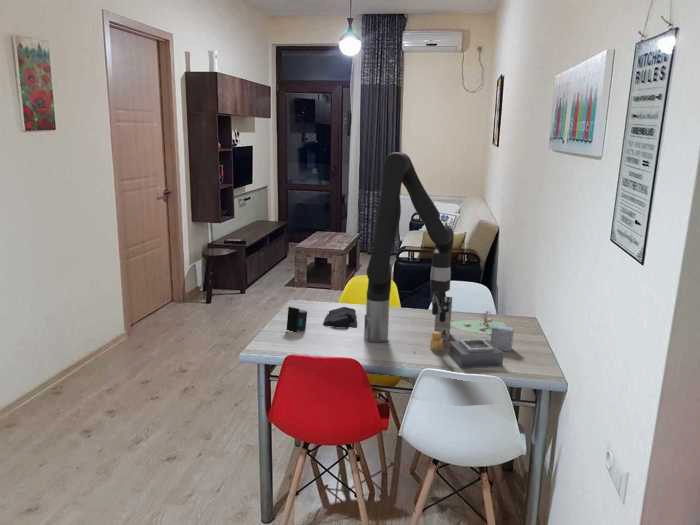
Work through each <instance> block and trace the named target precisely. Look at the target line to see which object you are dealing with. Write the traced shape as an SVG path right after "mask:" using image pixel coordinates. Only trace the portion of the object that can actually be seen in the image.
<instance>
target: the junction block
mask: <svg viewBox="0 0 700 525" xmlns="http://www.w3.org/2000/svg"><path fill="white" fill-rule="evenodd" d="M448 342H449V344H448V355H449V356H450V357H451V358H452V360H453V361H454V362H455V363H456V364H457V365H458V366H459V367H460V368H462V369H463V368H464V369H466V368H481V367H482V368H483V367H499V366H500V365H502V366H503V363H504V354H505V353H504V351H503V350H500V349H499V348H498V347H496V346H495V345H494V344H493V343H492V342H491V340H489V339H484V338H475V339H472V338H471V339H459V340H457V341H456V340H455V341H448Z"/></svg>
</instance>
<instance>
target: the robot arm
mask: <svg viewBox="0 0 700 525" xmlns="http://www.w3.org/2000/svg"><path fill="white" fill-rule="evenodd" d="M413 164H414V163H413V162H412V159H411V157H409V156H408V154H406V153H405V152H391V153H389V154H388V155H387V156H386V157H385V159H384V161H383V166H382V181H381V190H380V195H379V200H378V206H377V210H376V216H375V221H374V229H373V230H374V232H373V242H372V250H371V253H370V254H371V255H370V257H369V261H368V266H367V268H366V276H367V279H368V282H367V290H366V304H365V305H366V308H365V309H366V310H365V315H364V332H363V337H364V339H365V340H366V342H367V343H369V342H371V343H384V342H386V341H388V338H389V323H390V322H389V319H390V297H391V289H392V269H393V268H392V265H391V263H390V262H391V254H392V250H393V246H394V243H395V240H396V237H397V233H398V231H399V226H400V221H401V215H402V214H401V212H402V205H401V187H402V185H403V186H404V188H405V189H406V191H407V193H408V195H409V199H410V201H411V204H412V206H413V208H414V210H415V212H416V213H417V215H418V216H419V218H420V220H421V222H423V225H424V226H425V227H424V228H425V230H426V232H427V235H428V236H429V238H430V240H431V241H432V242H433V244H434V250H433V252H432V255H431V269H430V283H429V284H430V285H429V288H430V300H429V302H430V303H431V305H432V308H431V314H432V315H433V316H435V315H437V314H438V307H439V310H440V318H439V321H440V322H445V320H446V312H449V297H450V296H447V294H446V292H448V291H450V289H451V275H452V271H451V265H452V264H451V262H452V260H451V258H452V250H453V246H454V240H455V237H454V234H455V233H454V230H453V229H452V227H451V226H450V225H448V224H444V223H443V222H442V220H441V214H440V211H439V209H438V208H437V206H436V204H435V203H434V202H433V200H432V198H431V197H430V195H429V194H428V193H427V191H426V189H425V187H424V185H423V184H422V182H421V180H420V178H419V176H418V173H417V171H416V168H415V167H414V165H413ZM446 306H447V307H446ZM441 307H442V308H441Z"/></svg>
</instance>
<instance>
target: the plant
mask: <svg viewBox="0 0 700 525" xmlns="http://www.w3.org/2000/svg"><path fill="white" fill-rule="evenodd" d="M491 312H493V311H492V310H491V311H486V312H484V313H483V314H482V315H481V316H480V317H481V318H482V320H484V321H480V320H481V319H468V320H467V319H465V320H453V321H454V322H452V320H451V323H450V324H452V325H451V326H452V327H453V328H455V329H459V330H463V331H467V332H471V331H472V332H471V333H475V332H477V333H476V334H479V333H488V334H491V333H492V327H493V326H494V325H498V326H504V327H508V326H507V324H505V322H500V321H497V320H495V321H494V320H492V319H491V318H490V316H491ZM488 315H489V316H488Z"/></svg>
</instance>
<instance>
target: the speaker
mask: <svg viewBox="0 0 700 525" xmlns="http://www.w3.org/2000/svg"><path fill="white" fill-rule="evenodd" d="M307 317H308V310H305V309H304V310H303V309H300V308H298V307H292V306H288V307H287V319H286V330H289V331H293V332H292V333H294V332H297V333H298V332H305V331H306V328H307V319H308V318H307ZM289 331H288V332H289Z"/></svg>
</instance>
